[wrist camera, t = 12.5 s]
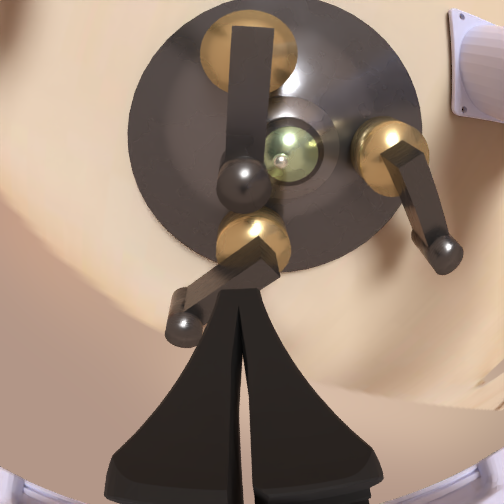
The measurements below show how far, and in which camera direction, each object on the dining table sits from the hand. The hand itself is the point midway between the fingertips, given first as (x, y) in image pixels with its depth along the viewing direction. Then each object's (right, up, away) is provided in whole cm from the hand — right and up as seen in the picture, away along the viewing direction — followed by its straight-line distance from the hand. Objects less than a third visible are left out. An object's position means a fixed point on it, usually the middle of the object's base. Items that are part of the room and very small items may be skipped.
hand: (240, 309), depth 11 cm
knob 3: (+10, +7, +7) cm, 14 cm away
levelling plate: (+2, +8, +6) cm, 11 cm away
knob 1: (0, +10, +4) cm, 11 cm away
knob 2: (-1, +2, +9) cm, 10 cm away
